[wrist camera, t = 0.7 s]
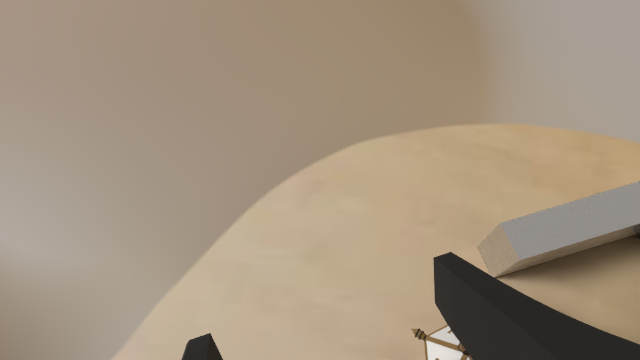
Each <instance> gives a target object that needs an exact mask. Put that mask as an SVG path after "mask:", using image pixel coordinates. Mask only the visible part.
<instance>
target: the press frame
mask: <svg viewBox="0 0 640 360" xmlns="http://www.w3.org/2000/svg"><path fill="white" fill-rule="evenodd" d="M635 234H637V236H638V237H639V238H640V181H639V182H635V183H632V184H629V185H625V186H622V187H619V188H615V189H612V190H609V191H605V192H602V193H599V194H596V195H592V196H589V197H586V198H582V199H579V200H576V201H572V202H569V203H566V204H562V205H559V206H556V207H552V208H549V209H546V210H542V211H539V212H536V213H532V214H529V215H526V216H523V217H519V218H516V219H513V220H509V221H506V222H503V223H500V224H499V225H498V226H497V227H496V228H495V229H494V230H493V231H492V232H491V233H490V234H489V235H488V236H487V237H486V238H485V239H484V240H483V241H482V242H481V243H480V244H479V245H478V246H477V248H478V250H479V252H480V254H481V256H482V258H483V260H484V262H485V264H486V266H487V268H488V270H489V272H490V274H491V276H492V277H494V278H495V277H499V276H502V275H505V274H508V273H512V272H515V271H518V270H521V269H525V268H528V267H531V266H534V265H538V264H541V263H544V262H547V261H551V260H554V259H557V258H560V257H564V256H567V255H570V254H573V253H577V252H580V251H583V250H586V249H590V248H593V247H596V246H599V245H603V244H606V243H609V242H612V241H616V240H619V239H622V238H625V237H629V236H632V235H635Z"/></svg>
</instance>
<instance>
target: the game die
mask: <svg viewBox="0 0 640 360" xmlns="http://www.w3.org/2000/svg"><path fill="white" fill-rule="evenodd" d="M412 331H413V333H414V334H415V337H418V338H419V340H420V339H422V340H424V343H425V355H426V360H473V359H472V358H471V356H470V355H469V354H468V352H467V351H466V350H465V348H464V347H463V346H462V344H461V343H460V342H459V340H458V339H457V338H456V336H455V335H454V334H453V332H452V331H451V329H450V327H449V326H448V325H446V326H444V327H442V328H440V329H439V330H437V331H435V332H433V333H431V334H429V335H425V333H424V331H421V330H420V329H412Z"/></svg>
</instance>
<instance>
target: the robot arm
mask: <svg viewBox="0 0 640 360" xmlns="http://www.w3.org/2000/svg"><path fill="white" fill-rule="evenodd" d="M434 285H435V303H436V305H437V307H438V309H439V310H440V312H441V314H442V316H443V317H444V319H445V321H446V322H447V324H448V326H449V327H450V329H451V331H452V332H453V334H454V335H455V336H456V338H457V339H458V340H459V342H460V343H461V344H462V346H463V347H464V348H465V350H466V351H467V352H468V354H469V355H470V356H471V358H472V359H473V360H640V345H639V344H637V343H634V342H631V341H628V340H626V339H623V338H620V337H617V336H615V335H612V334H610V333H607V332H604V331H602V330H599V329H597V328H595V327H592V326H590V325H588V324H585V323H583V322H581V321H578V320H576V319H574V318H571V317H569V316H567V315H565V314H563V313H560V312H558V311H556V310H554V309H552V308H550V307H548V306H546V305H544V304H542V303H540V302H538V301H536V300H534V299H532V298H530V297H528V296H526V295H524V294H523V293H521V292H519V291H517V290H515V289H513V288H512V287H510V286H508V285H506V284H504V283H503V282H501V281H499V280H497V279H496V278H494V277H492V276H490V275H489V274H487V273H485V272H484V271H482V270H480V269H479V268H477V267H475V266H474V265H472V264H470V263H469V262H467V261H465V260H463V259H462V258H460V257H458V256H457V255H455V254H453V253H452V252H449V253H446V254H443V255H440V256H438V257H435V258H434ZM182 360H223V359H222V357H221V355H220V353H219V350H218V348H217V346H216V344H215V342H214V340H213V338H212V336H211V334H210V333H209V334H206V335H203V336H200V337H197V338H194V339H191V340H189V341H188V343H187V345H186V348H185V351H184V354H183V357H182Z"/></svg>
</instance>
